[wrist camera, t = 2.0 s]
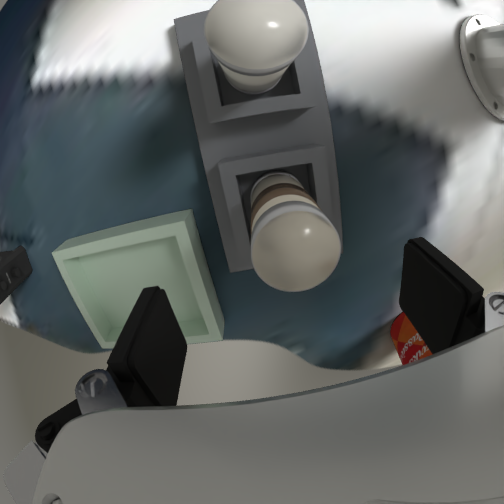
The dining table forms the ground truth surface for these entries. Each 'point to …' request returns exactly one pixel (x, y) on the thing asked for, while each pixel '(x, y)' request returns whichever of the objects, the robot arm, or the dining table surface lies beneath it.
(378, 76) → the dining table surface
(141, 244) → the parts tray
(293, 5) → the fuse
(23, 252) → the geiger counter
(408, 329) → the paper cup
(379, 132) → the dining table surface
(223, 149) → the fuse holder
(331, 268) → the fuse
